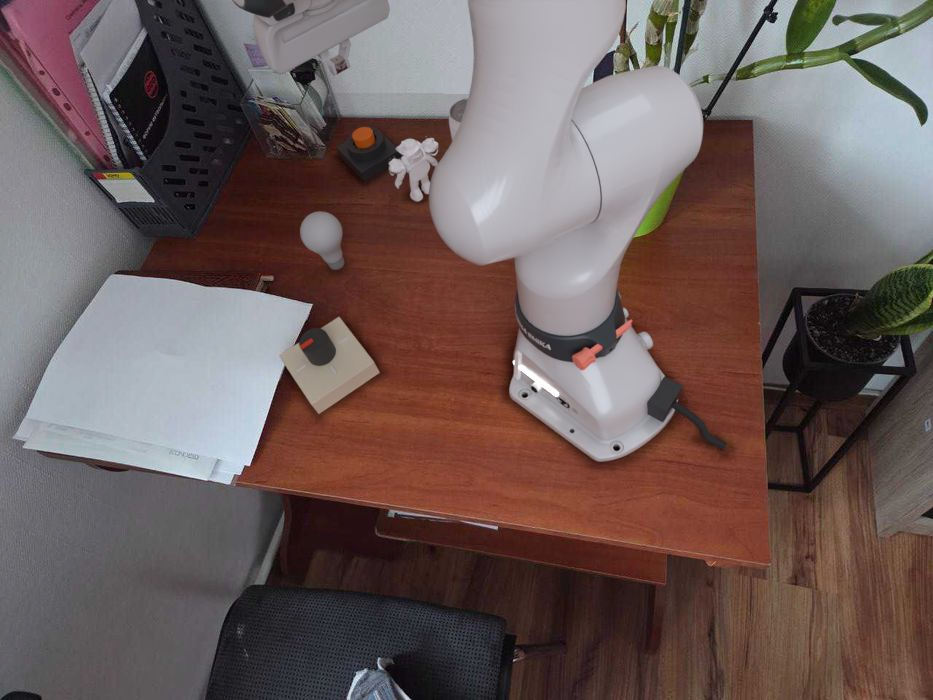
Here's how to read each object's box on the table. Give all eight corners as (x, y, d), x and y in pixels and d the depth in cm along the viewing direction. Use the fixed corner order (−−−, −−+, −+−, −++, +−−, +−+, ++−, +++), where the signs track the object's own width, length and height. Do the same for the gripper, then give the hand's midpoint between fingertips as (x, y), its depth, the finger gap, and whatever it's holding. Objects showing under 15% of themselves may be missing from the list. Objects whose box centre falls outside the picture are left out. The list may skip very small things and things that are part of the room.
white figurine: (406, 213, 101) (389, 156, 91) (394, 200, 103) (375, 143, 93) (450, 185, 103) (438, 126, 93) (437, 174, 105) (424, 114, 95)
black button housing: (402, 159, 108) (397, 141, 105) (364, 182, 107) (358, 164, 103) (376, 135, 113) (370, 117, 109) (339, 156, 111) (332, 138, 108)
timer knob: (326, 336, 86) (317, 321, 83) (341, 354, 84) (332, 339, 81) (303, 353, 86) (292, 338, 82) (317, 371, 84) (307, 357, 80)
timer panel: (379, 372, 86) (374, 361, 83) (318, 414, 84) (310, 404, 81) (345, 327, 91) (338, 315, 88) (286, 365, 89) (277, 354, 86)
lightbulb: (356, 279, 95) (334, 230, 86) (318, 284, 96) (291, 237, 86) (357, 249, 99) (336, 199, 89) (320, 254, 99) (295, 205, 90)
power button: (379, 141, 106) (376, 133, 105) (361, 152, 105) (358, 143, 104) (368, 132, 108) (365, 123, 106) (351, 142, 107) (348, 133, 106)
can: (496, 181, 102) (488, 121, 92) (457, 185, 103) (446, 125, 93) (496, 154, 106) (488, 94, 96) (458, 158, 106) (447, 98, 96)
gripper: (361, -61, 87) (385, 32, 99) (234, 2, 83) (275, 91, 95) (384, -46, 84) (406, 48, 96) (253, 20, 80) (293, 110, 91)
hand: (340, 70), depth 95 cm, fingers closed
